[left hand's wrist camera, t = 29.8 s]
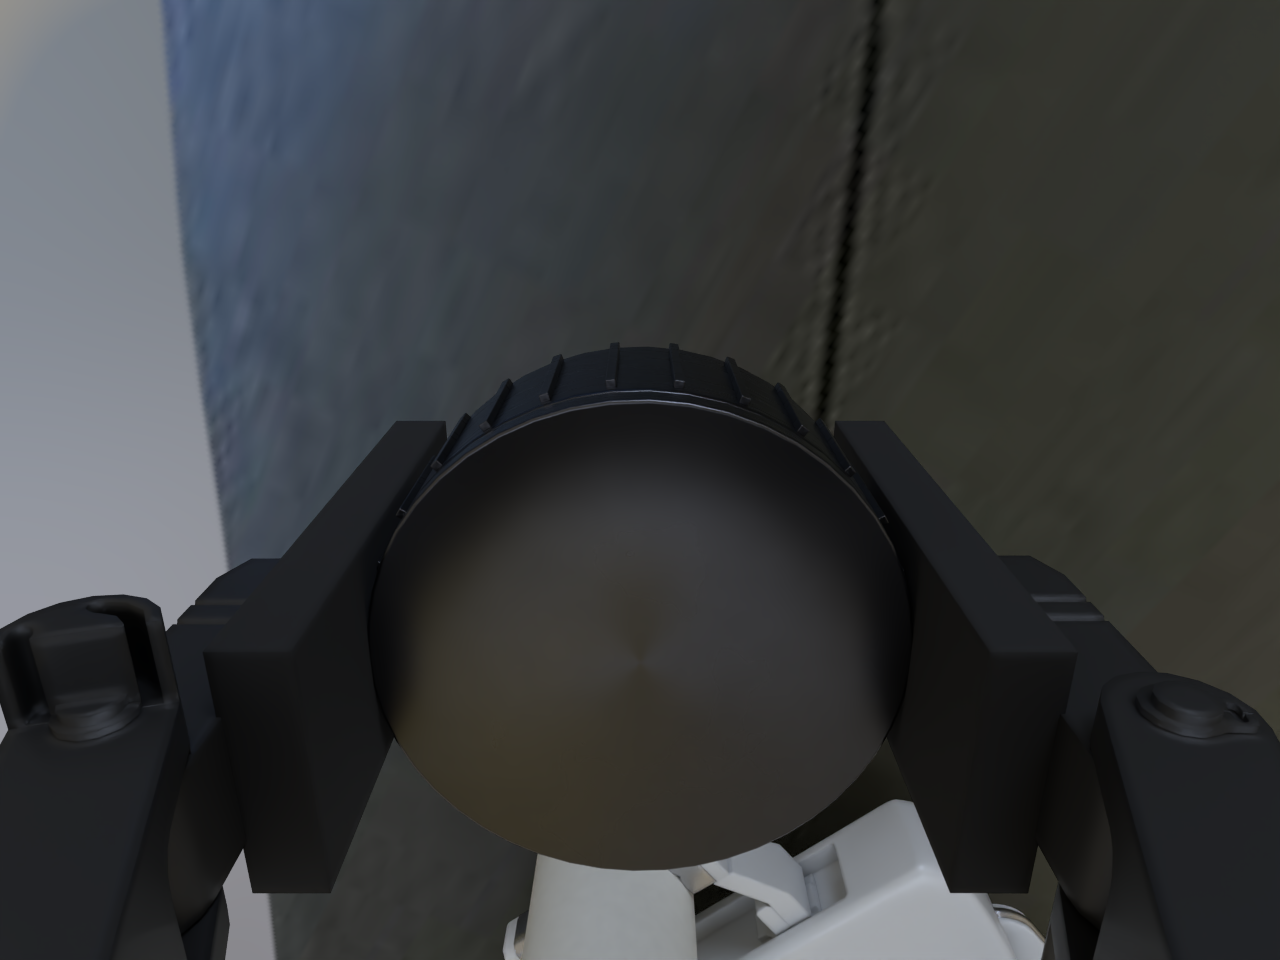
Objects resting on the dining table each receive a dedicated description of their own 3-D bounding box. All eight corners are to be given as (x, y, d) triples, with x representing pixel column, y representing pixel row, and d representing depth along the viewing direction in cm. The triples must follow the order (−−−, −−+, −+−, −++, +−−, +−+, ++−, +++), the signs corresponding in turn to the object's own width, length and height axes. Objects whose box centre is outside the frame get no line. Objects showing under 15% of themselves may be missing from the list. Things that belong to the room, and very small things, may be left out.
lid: (367, 364, 11) (298, 423, 9) (867, 314, 11) (926, 362, 9) (455, 767, 13) (418, 894, 11) (871, 732, 13) (918, 855, 11)
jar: (701, 801, 37) (740, 1289, 21) (577, 831, 37) (526, 1325, 22) (663, 695, 35) (675, 1147, 19) (533, 729, 35) (443, 1191, 20)
